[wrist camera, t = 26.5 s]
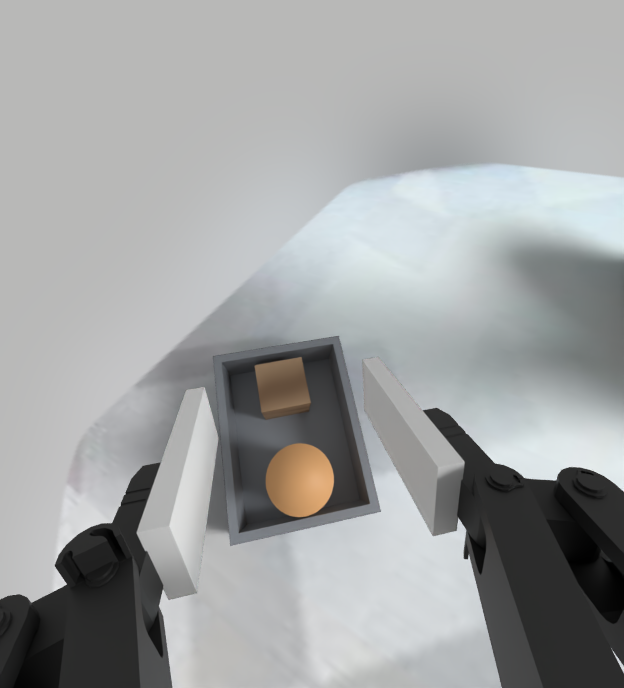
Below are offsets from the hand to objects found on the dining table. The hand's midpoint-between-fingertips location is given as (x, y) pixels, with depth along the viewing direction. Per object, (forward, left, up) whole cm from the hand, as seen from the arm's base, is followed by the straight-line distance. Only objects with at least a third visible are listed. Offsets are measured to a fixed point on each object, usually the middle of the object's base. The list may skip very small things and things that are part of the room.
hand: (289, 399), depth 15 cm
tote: (-1, -1, -24) cm, 25 cm away
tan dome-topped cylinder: (+3, +2, -23) cm, 24 cm away
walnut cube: (-5, -3, -23) cm, 24 cm away
